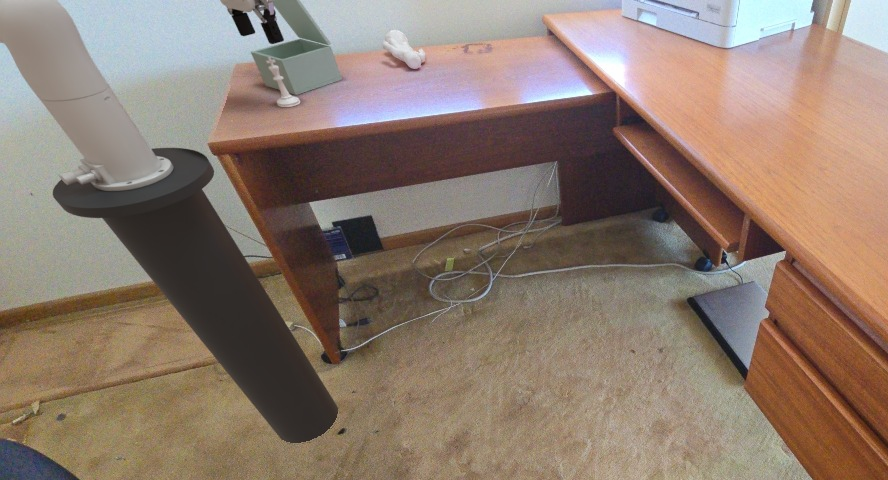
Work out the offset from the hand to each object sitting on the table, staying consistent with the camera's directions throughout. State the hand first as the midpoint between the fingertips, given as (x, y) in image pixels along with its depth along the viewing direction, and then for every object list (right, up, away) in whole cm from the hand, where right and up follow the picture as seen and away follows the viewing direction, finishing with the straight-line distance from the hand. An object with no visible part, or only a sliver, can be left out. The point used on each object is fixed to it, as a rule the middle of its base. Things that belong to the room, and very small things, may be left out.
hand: (262, 38), depth 113 cm
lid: (-1, +13, +11) cm, 17 cm away
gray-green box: (-3, 0, +19) cm, 20 cm away
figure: (+17, +14, +34) cm, 40 cm away
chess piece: (-1, -10, +10) cm, 14 cm away
